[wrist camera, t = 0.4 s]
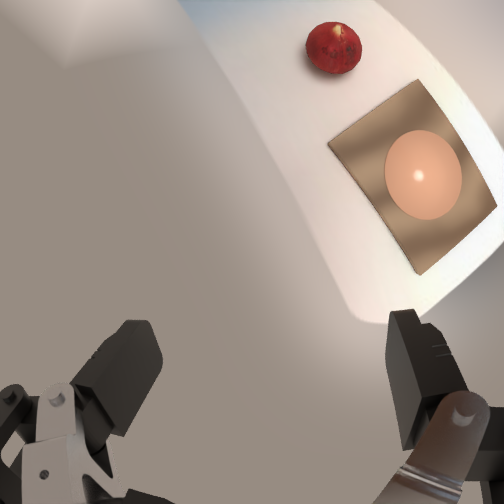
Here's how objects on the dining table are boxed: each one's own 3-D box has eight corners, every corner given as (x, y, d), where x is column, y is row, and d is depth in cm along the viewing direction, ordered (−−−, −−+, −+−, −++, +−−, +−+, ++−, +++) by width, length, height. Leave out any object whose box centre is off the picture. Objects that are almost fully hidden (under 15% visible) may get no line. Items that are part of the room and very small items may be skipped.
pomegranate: (364, 71, 30) (382, 43, 22) (322, 90, 31) (330, 64, 23) (337, 33, 29) (346, -1, 21) (295, 51, 30) (295, 17, 22)
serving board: (327, 144, 32) (329, 142, 31) (414, 81, 29) (418, 78, 28) (416, 273, 33) (420, 276, 32) (492, 205, 30) (498, 206, 29)
